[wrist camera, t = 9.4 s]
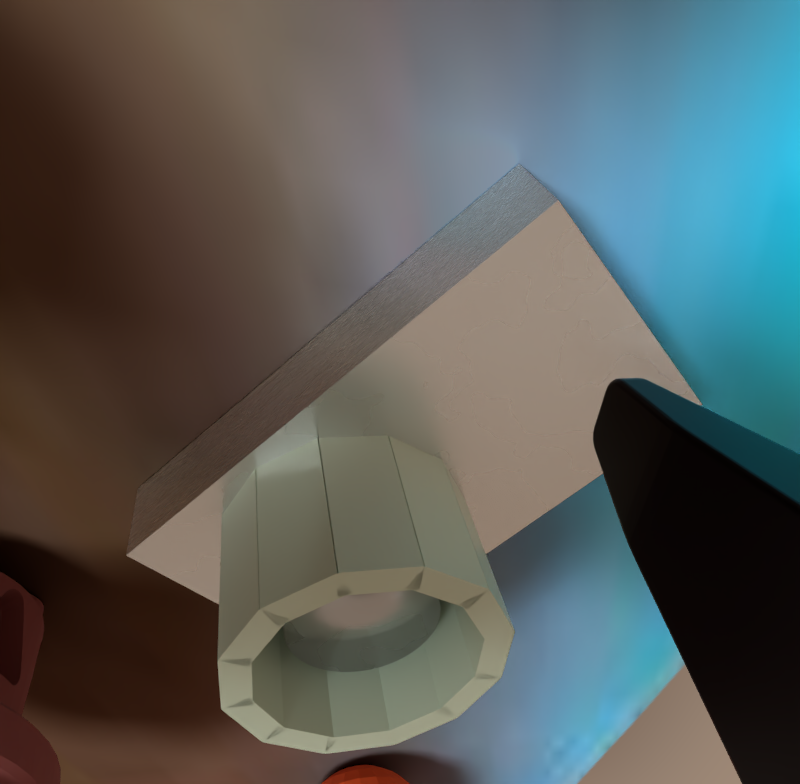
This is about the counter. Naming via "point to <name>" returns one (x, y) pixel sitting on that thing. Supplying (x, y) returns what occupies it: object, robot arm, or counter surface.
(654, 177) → the counter surface
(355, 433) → the beige rectangular block
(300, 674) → the collar
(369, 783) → the clementine
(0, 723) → the mechanical component
